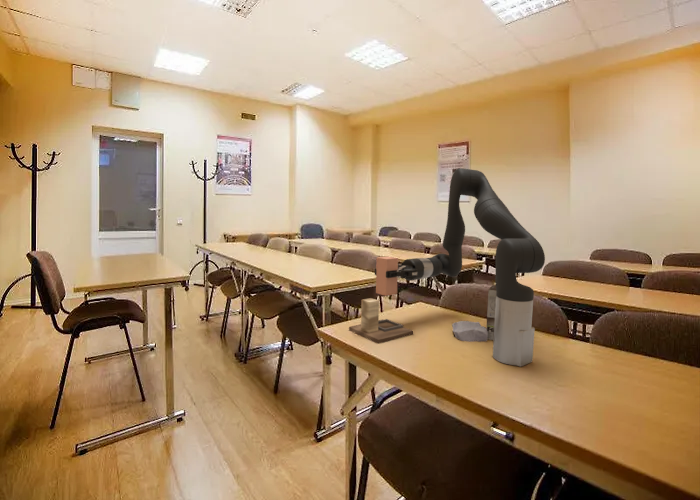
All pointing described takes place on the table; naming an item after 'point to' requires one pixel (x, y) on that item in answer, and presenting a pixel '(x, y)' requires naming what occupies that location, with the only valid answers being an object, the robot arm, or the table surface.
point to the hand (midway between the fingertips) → (381, 273)
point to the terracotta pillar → (382, 283)
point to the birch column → (369, 315)
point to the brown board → (382, 333)
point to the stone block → (470, 331)
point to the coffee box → (491, 312)
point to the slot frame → (390, 327)
